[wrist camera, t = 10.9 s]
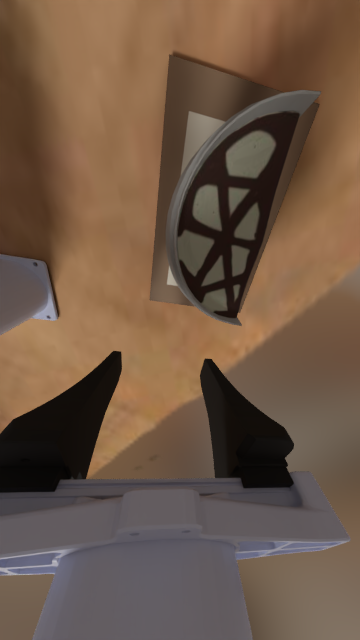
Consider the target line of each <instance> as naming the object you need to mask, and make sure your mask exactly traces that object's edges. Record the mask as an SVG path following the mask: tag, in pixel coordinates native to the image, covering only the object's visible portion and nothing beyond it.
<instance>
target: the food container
mask: <svg viewBox="0 0 360 640" xmlns="http://www.w3.org/2000/svg"><path fill="white" fill-rule="evenodd" d="M320 94H321V91H309V90H299V91H293V92H286V93H281V94H278V95H276V96H271V97H269V98H266V99H264V100H261V101H259V102H256V103H253V104H251V105H249V106H248V107H246V108H245V109H243V110H242V111H240V112H238V113H237V114H235V115H234V116H232V117H231V118H230V119H229V120H227V121H226V122H225V123H224V124H223V125H222V126H221V127H220V128H218V129H217V130H216V131H215V132H214V133H213V134H212V135H211V136H210V137H209V138H208V139H207V140H206V141H205V142H204V144H203V145H202V146H201V147H200V149H199V150H198V151H197V152H196V153H195V155H194V156H193V157H192V158H191V160H190V161H189V163H188V165H187V166H186V168H185V170H184V171H183V173H182V175H181V177H180V179H179V181H178V183H177V186H176V188H175V191H174V193H173V195H172V199H171V203H170V207H169V210H168V215H167V223H166V252H167V258H168V263H169V266H170V269H171V273H172V275H173V277H174V279H175V281H176V283H177V285H178V287H179V288H180V290H181V291H182V293H183V294H184V295H185V297H186V298H187V299H188V300H189V301H190V302H191V303H192V304H193V305H195V306H196V307H197V308H198V309H199V310H201V311H202V312H204V313H205V314H206V315H208V316H210V317H212V318H214V319H216V320H219V321H222V322H226V323H229V324H233V325H240V326H242V324H241V323H240V321H239V320H238V318H237V314H238V311H239V309H240V304H241V300H242V297H243V294H244V290H245V287H246V284H247V282H248V279H249V276H250V273H251V271H252V268H253V266H254V264H255V261H256V259H257V256H258V253H259V250H260V248H261V245H262V242H263V239H264V235H265V232H266V228H267V224H268V220H269V216H270V211H271V208H272V204H273V200H274V196H275V193H276V189H277V186H278V183H279V179H280V176H281V173H282V170H283V167H284V163H285V160H286V157H287V154H288V151H289V147H290V144H291V141H292V138H293V135H294V132H295V128H296V125H297V122H298V119H299V117H300V116H301V115H302V114H303V113H304V112H305V111H306V110H307V108H308V107H309V106H310V105H311V104H312V103H313V102H314V101H315V100H316V99H317V98H318V96H319V95H320Z"/></svg>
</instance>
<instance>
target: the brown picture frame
mask: <svg viewBox="0 0 360 640" xmlns="http://www.w3.org/2000/svg"><path fill="white" fill-rule="evenodd" d="M281 93H284V92H281V91H278V90H275V89H272V88H269V87H266V86H263V85H260V84H257V83H254V82H251V81H248V80H245V79H242V78H239V77H236V76H233V75H230V74H227V73H224V72H221V71H218V70H215V69H212V68H209V67H206V66H203V65H200V64H197V63H194V62H191V61H188V60H185V59H182V58H179V57H175V56H172V55H169V66H168V79H167V91H166V104H165V116H164V129H163V141H162V154H161V166H160V179H159V191H158V204H157V216H156V228H155V241H154V253H153V266H152V278H151V291H150V300H152V301H159V302H166V303H173V304H181V305H188V306H195V305H193V304H192V303H191V302H190V301H189V300H188V299H187V298H186V297H185V295H184V294H183V293H182V291H181V290H180V288H179V287H178V285H177V283H176V281H175V279H174V277H173V275H172V273H171V269H170V266H169V263H168V258H167V252H166V223H167V215H168V210H169V207H170V203H171V199H172V195H173V193H174V191H175V188H176V186H177V183H178V181H179V179H180V177H181V175H182V173H183V171H184V170H185V168H186V166H187V165H188V163H189V161H190V160H191V158H192V157H193V156H194V155H195V153H196V152H197V151H198V150H199V149H200V147H201V146H202V145H203V144H204V142H205V141H206V140H207V139H208V138H209V137H210V136H211V135H212V134H213V133H214V132H215V131H216V130H217V129H218V128H220V127H221V126H222V125H223V124H224V123H225V122H226V121H227V120H229V119H230V118H231V117H232V116H234V115H235V114H237V113H238V112H240V111H242V110H243V109H245V108H246V107H248V106H249V105H251V104H253V103H256V102H259V101H261V100H264V99H266V98H269V97H271V96H276V95H278V94H281ZM319 105H320V104H318V103H314V102H313V103H312V104H311V105H310V106H309V107H308V108H307V110H306V111H305V112H304V113H303V114H302V115H301V116H300V117H299V119H298V122H297V125H296V128H295V132H294V135H293V138H292V141H291V144H290V147H289V151H288V154H287V157H286V160H285V163H284V167H283V170H282V173H281V176H280V179H279V183H278V186H277V189H276V193H275V196H274V200H273V204H272V208H271V211H270V216H269V220H268V224H267V228H266V232H265V235H264V239H263V242H262V245H261V248H260V250H259V253H258V256H257V259H256V261H255V264H254V266H253V268H252V271H251V273H250V276H249V279H248V282H247V284H246V287H245V290H244V294H243V297H242V300H241V304H240V309H239V311H238V312H239V313H240V311H241V309H242V306H243V304H244V301H245V298H246V296H247V293H248V290H249V288H250V285H251V283H252V280H253V277H254V275H255V272H256V269H257V267H258V264H259V262H260V259H261V256H262V254H263V251H264V249H265V246H266V243H267V241H268V238H269V235H270V233H271V230H272V228H273V225H274V222H275V220H276V217H277V214H278V212H279V209H280V207H281V204H282V201H283V199H284V196H285V194H286V191H287V188H288V186H289V183H290V180H291V178H292V175H293V173H294V170H295V167H296V165H297V162H298V160H299V157H300V154H301V152H302V149H303V146H304V144H305V141H306V139H307V136H308V133H309V131H310V128H311V125H312V123H313V120H314V118H315V115H316V112H317V110H318V107H319ZM195 307H196V306H195Z"/></svg>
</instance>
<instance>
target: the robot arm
mask: <svg viewBox="0 0 360 640" xmlns="http://www.w3.org/2000/svg"><path fill="white" fill-rule="evenodd" d="M35 262H36V263H37V264H38V266H37V265H36V264H35ZM49 316H50V317H49ZM30 318H35V319H44V320H53V321H55V320H57V319H58V314H57V310H56V305H55V301H54V296H53V292H52V287H51V283H50V278H49V274H48V269H47V265H46V263H45V262H44V261H42V260H36V259H29V258H23V257H16V256H10V255H4V254H0V335H2V334H4V333H5V332H7V331H9V330H11V329H12V328H14V327H16V326H18V325H19V324H21V323H23V322H25V321H27V320H28V319H30ZM121 371H122V362H121V352H119V351H113V352H112V353H111V354H110V355H109V356H108V357H107V358H106V359H105V360H104V361H103V362H102V363H101V364H99V365H98V366H97V367H96V368H95V369H94V370H93V371H92V372H90V373H89V374H88V375H87V376H86V377H84V378H83V379H82V380H81V381H79V382H78V383H77V384H75V385H74V386H72V387H71V388H69V389H68V390H66V391H65V392H63V393H62V394H60V395H59V396H57V397H55V398H54V399H52V400H50V401H48V402H47V403H45V404H43V405H41V406H39V407H37V408H36V409H34V410H32V411H30V412H28V413H25V414H23V415H21V416H19V417H17V418H15V419H13V420H12V422H11V423H10V424H9V425H8V426H7V427H6V428H5V429H4V430H3V431H2V433H1V434H0V575H27V574H55V575H54V578H53V582H52V584H51V587H50V590H49V593H48V595H47V598H46V601H45V604H44V607H43V610H42V613H41V616H40V618H39V622H38V624H37V627H36V630H35V633H34V636H33V639H32V640H253V638H252V633H251V628H250V623H249V618H248V613H247V608H246V603H245V598H244V594H243V589H242V584H241V579H240V574H239V569H238V564H237V560H239V559H246V558H255V557H263V556H271V555H280V554H288V553H298V552H308V551H321V550H324V549H327V548H330V547H333V546H336V545H339V544H342V543H345V542H348V541H350V537H349V535H348V533H347V532H346V530H345V528H344V527H343V525H342V523H341V522H340V520H339V519H338V517H337V515H336V513H335V512H334V510H333V508H332V507H331V505H330V503H329V502H328V500H327V498H326V497H325V495H324V493H323V492H322V490H321V488H320V487H319V485H318V483H317V481H316V480H315V478H314V477H313V475H312V473H311V472H309V471H295V472H290V473H289V472H288V470H287V468H286V467H287V466H288V464H287V462H286V460H285V457H286V456H287V455H288V454H289V453H290V452H291V451H292V449H293V447H294V443H293V441H292V440H291V438H290V436H289V435H288V433H287V431H286V430H285V428H284V427H283V426H281V425H280V424H278V423H277V422H275V421H274V420H272V419H271V418H269V417H268V416H267V415H265V414H264V413H263V412H261V411H260V410H259V409H257V408H256V407H255V406H254V405H253V404H251V403H250V402H249V401H248V400H247V399H246V398H245V397H244V396H242V395H241V394H240V393H239V392H238V391H237V390H236V389H235V388H234V386H233V385H232V384H231V383H230V382H229V381H228V380H227V378H226V377H225V376H224V375H223V374H222V372H221V371H220V370H219V368H218V367H217V366H216V364H215V363H214V362H213V360H212V359H205V360H204V363H203V367H202V370H201V374H200V380H201V387H202V392H203V396H204V400H205V404H206V408H207V413H208V418H209V425H210V432H211V440H212V449H213V459H214V470H215V478H183V479H182V478H181V479H179V478H178V479H86V476H87V473H88V469H89V465H90V462H91V458H92V455H93V451H94V448H95V444H96V441H97V438H98V434H99V431H100V428H101V425H102V421H103V418H104V415H105V412H106V410H107V407H108V405H109V402H110V400H111V398H112V395H113V393H114V391H115V388H116V386H117V383H118V381H119V378H120V374H121Z"/></svg>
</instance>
